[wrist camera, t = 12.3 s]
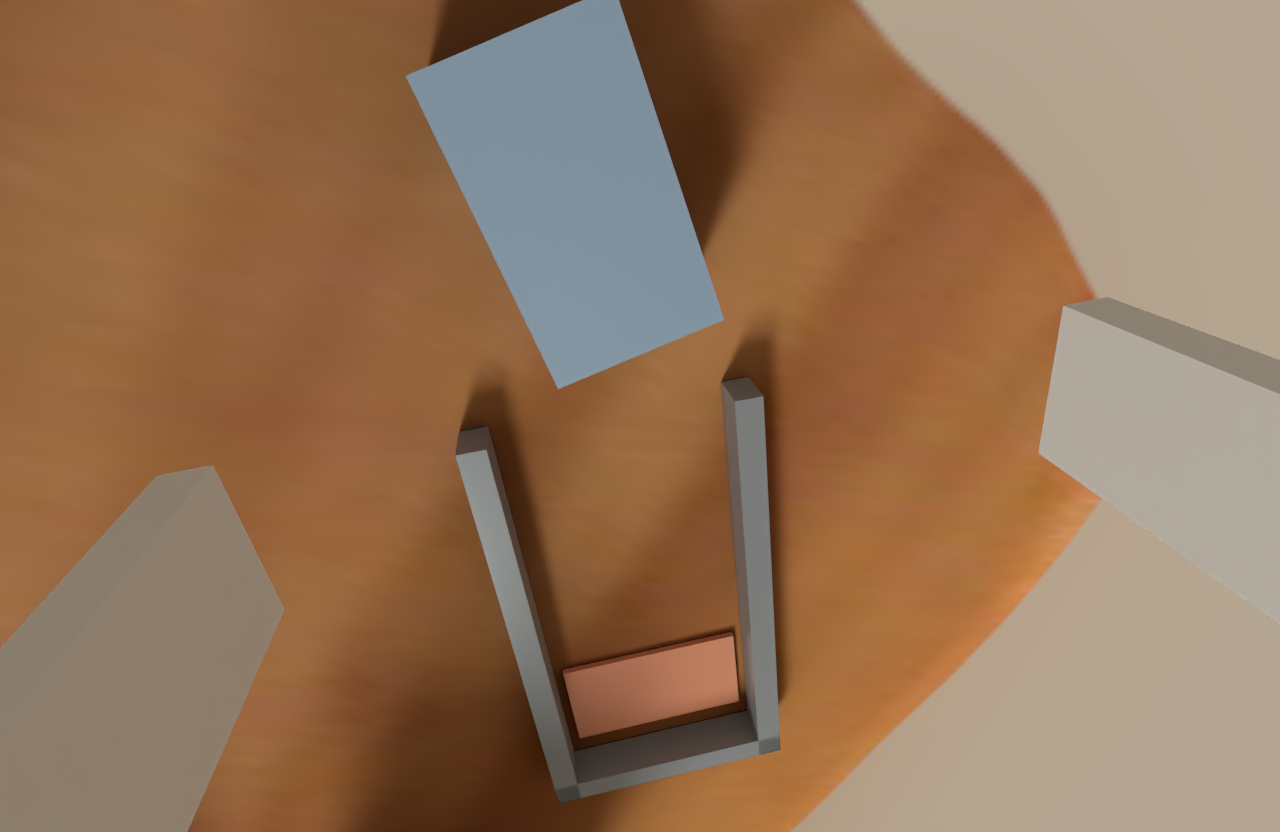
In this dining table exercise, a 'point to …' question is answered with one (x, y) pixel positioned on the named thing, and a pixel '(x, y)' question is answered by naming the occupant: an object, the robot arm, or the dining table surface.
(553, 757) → the grey flat frame
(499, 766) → the dining table surface
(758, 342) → the dining table surface
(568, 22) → the slate block
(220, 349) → the dining table surface
